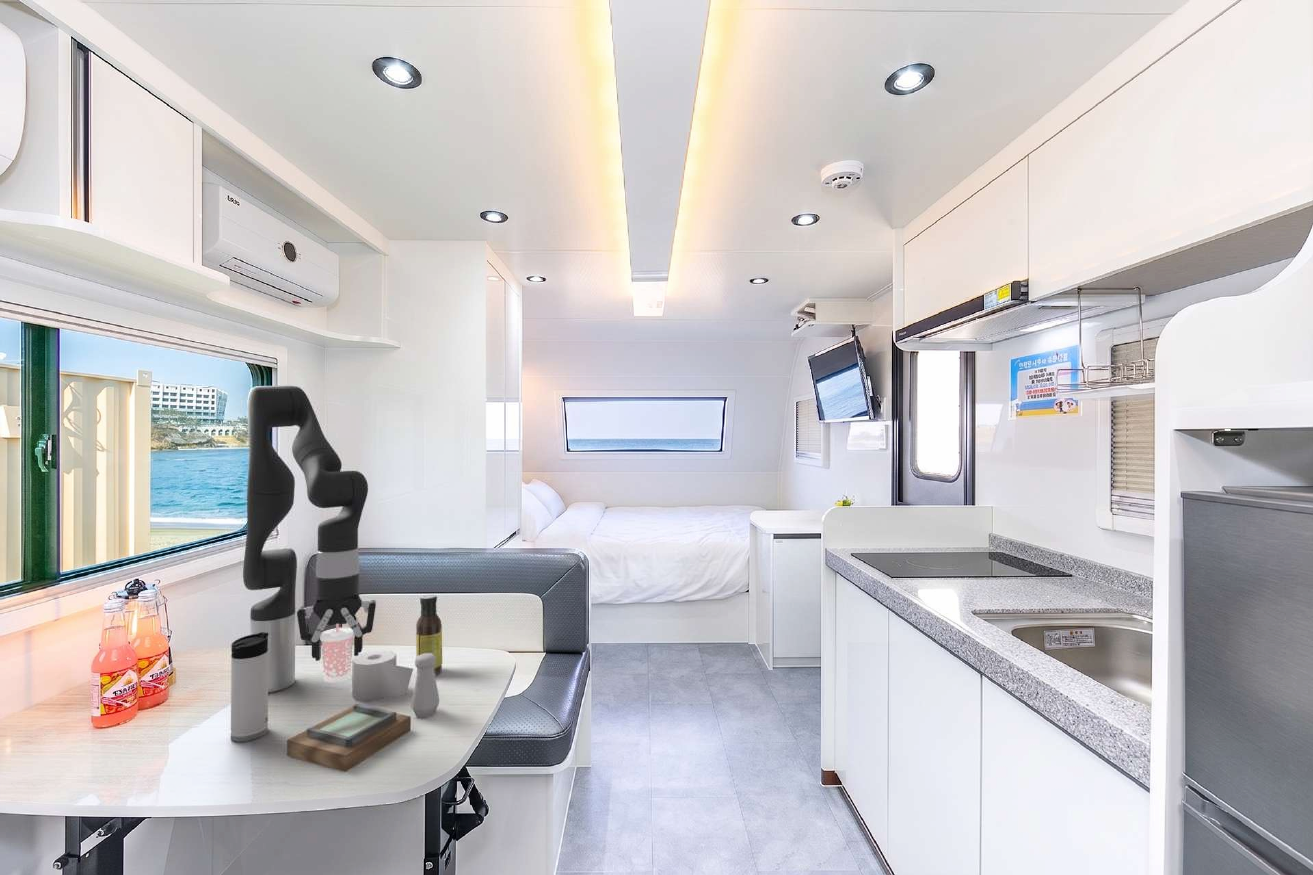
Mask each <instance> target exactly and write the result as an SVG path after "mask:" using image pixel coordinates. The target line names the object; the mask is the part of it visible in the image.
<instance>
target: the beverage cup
mask: <svg viewBox="0 0 1313 875" xmlns="http://www.w3.org/2000/svg"><path fill="white" fill-rule="evenodd" d="M339 625H340V624H335V627H334V628H331V629H327V630H323V632H322V634H321V636H320V640H321V658H322V667H323V668H322V672H323V681H324V682H325V683H338V682H343V681H346V680H348V679H349V678H350V677H351V676H352V660H353V659H352V658H353V657H352V656H353V647H354V637H355V634H354V632H353V630H352V629H351V628H350V627H340V626H339Z"/></svg>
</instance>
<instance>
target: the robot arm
mask: <svg viewBox="0 0 1313 875" xmlns="http://www.w3.org/2000/svg"><path fill="white" fill-rule="evenodd" d="M247 396H248V397H247V400H246V401H247V402H246V403H247V404H246V405H247V407H246V410H247V426H248V427H247V429H248V430H247V431H248V447H249V449H248V453H249V457H248V474H247V475H248V476H247V484H246V485H247V486H246V488H247V491H246V518H247V520H246V522H247V523H246V524H247V526H246V540H245V546H244V547H245V550H244V557H243V567H242V579H243V584H244V587H245V588H246V589H247V590H249V591H259V590H260V591H261V590H269V589H274V588H275V589H276V588H279V589H278V591H276V592H275V593H274V594H272V595H271V596H269V597H268V598H266V599H265V598H264V599H262V600H261V601H258V602H256V603H255V604H253V606H251V608H250V614H249V616H250V617H249V618H250V625H249V627H250V628H249V629H250V634H249V635H252V634H259V633H260V632H265V633H268V646H267V647H268V694H269V693H274V692H278V691H282V690H284V689H287V688H289V687H291V686H292V685H294V683H295V681H296V618H297V623H298V630H299V635H300V639H301V640H302V641H310V642H311V658H312V659H314V660H315V662H317V661H321V660H322V659H321V658H322V642H321V640H320V636H321V634H322V632H324V631H325V629H326V626H336V624H339V625H346V624H347V625H348V626H349V628H351V629H352V630H353V632H354V634H355V635H354V636H353V657H356V656H358V655H360V654H359V653H362V651H363V648H364V646H363V642H364V640H363V637H364V635H366V634H370V633H372V631H373V628H374V620H375V613H376V608H377V601H376V600H375V599H371V600H369V601H367V600H362V599H361V597H360V569H361V566H360V565H361V564H360V556H359V526H360V522H361V521H360V520H361V517H362V515H363V514H362V513H363V509H364V507H365V504H366V501H367V497H368V492H369V484H368V480H367V478H366V477H365V475H364V474H363V473H361V472H360V471H358V470H344V471H343V470H342V461H341V458H340V456H339V455H338V453H337V452H336V451H335V450H334V448H333V447H332V445H331V443H330V442H329V441H328V439H327V438H326V437H325V435H324V433H323V432H324V431H323V430H322V428H321V425H320V422H319V420H318V417H317V415H316V412H315V410H314V408H313V406H312V404H311V401H310V399H309V397H308V395H307V394H306V392H305V391H304V390H303V388H301V387H300V386H299V387H298V386H296V385H259V386H253V387H252V388H251V389H250V390H249V393H248V395H247ZM294 426H297V427H298V428H299V429H298V431H297V433H296V434H295V437H294V438H293V441H292V445H291V452H292V453H291V454H292V456H293V458H294V460H295V462H296V464H297V465H298V467H299V468H300V470H301V471H302V472H303V475H304V480H305V484H306V492H307V493H306V495H307V499H308V500H309V501H308V502H310V503H311V504H312V505H313V506H314V507H317V508H321V509H330V508H340V507H341V509H340V512H338V514H337V515H335V516H334V517H331V518H329V519H325V520H323V521H321V522H320V523H319V524H318V527H317V555H316V560H315V561H316V562H315V602H314V604H313V605H312V606H311V605H310V606H303V605H302V606H300V607H299V608H298V610H297V612H296V587H297V584H296V583H297V571H298V563H297V562H298V561H297V560H298V559H297V558H298V557H297V554H296V552H295V550H294V549H292V548H278V549H277V548H276V549H268V550H263V548H264V546H265V544H266V541H267V540H268V539H269V537H270V535H271V534H272V533H273V531H274V530H275V529H276V528H277V527H278V526H279V525H280V523H282V521H283V520H284V519H285V518H286V516H287V515H288V514H289V513H290V511H291V509H292V508H293V506H294V501H295V486H296V481H295V476H294V474H293V472H292V470H291V469H290V468H289V467H288V465H287V464H286V462H285V461H284V460H283V459H282V458H281V456H280V455H279V454H278V452H277V451H276V450H275V448H274V446H273V444H272V442H271V439H270V429H272V428H283V427H285V428H286V427H294ZM361 608H363V611H364V613H365V614H367V617H366V624H364V625H363V626H362V625H361V624H360V622H359V619H358V617H357V616H356V614H357V612H359V610H360V609H361ZM312 613H314V614H315V615H316V616H317V617H318V618H319V619H320V621H319V623H318V625H317V627H316V629H315V631H310V627H309V618H310V617H311V616H312Z"/></svg>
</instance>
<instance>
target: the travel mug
mask: <svg viewBox="0 0 1313 875" xmlns="http://www.w3.org/2000/svg"><path fill="white" fill-rule="evenodd" d="M267 646H268V633H265V632H260V633H259V634H252V635H250V634H248V635H245V636H242V637H239V638H238V639H236V640H234V641H233V642H232V643H231V647H230V648H231V655H230V659H231V660H230V739H231V741H233V742H235V743H244V742H250V741H253V740H256V739H259V738H260V737H262V736H264V735H265V734H266V733H267V732H268V730H269V724H268V722H269V693H268V647H267Z"/></svg>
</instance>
